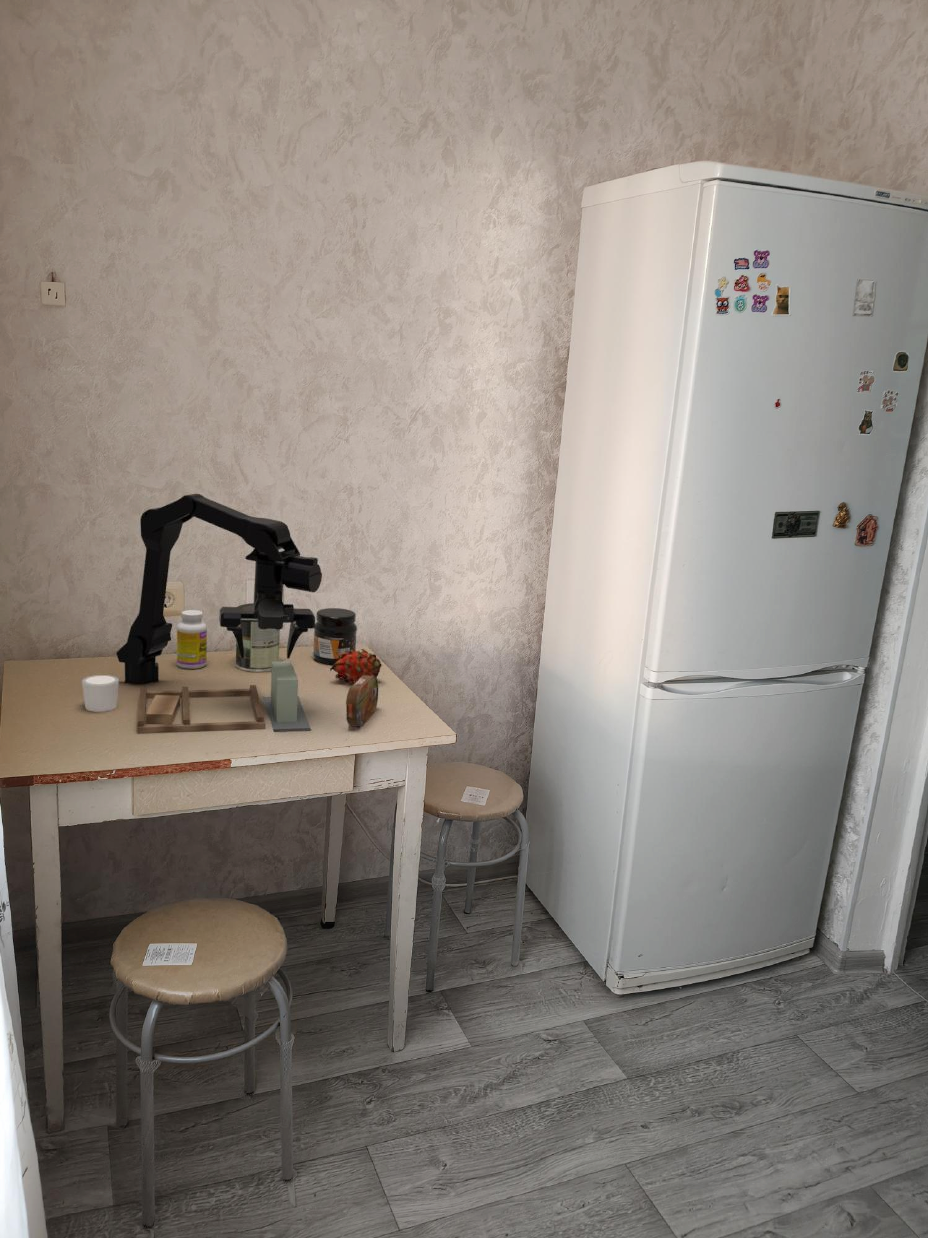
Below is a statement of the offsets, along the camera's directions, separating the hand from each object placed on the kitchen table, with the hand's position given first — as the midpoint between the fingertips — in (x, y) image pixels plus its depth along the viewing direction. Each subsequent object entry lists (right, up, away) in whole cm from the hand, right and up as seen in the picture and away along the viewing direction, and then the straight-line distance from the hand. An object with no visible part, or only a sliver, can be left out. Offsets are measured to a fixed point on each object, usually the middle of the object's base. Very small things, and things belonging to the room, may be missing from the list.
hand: (265, 657), depth 194 cm
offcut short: (-19, -11, -7) cm, 23 cm away
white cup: (-31, -11, -6) cm, 34 cm away
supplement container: (+9, -2, +40) cm, 41 cm away
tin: (+20, -13, +2) cm, 23 cm away
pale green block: (+4, -11, +1) cm, 12 cm away
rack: (-12, -12, -5) cm, 17 cm away
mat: (+4, -12, +1) cm, 12 cm away
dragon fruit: (+16, -7, +24) cm, 30 cm away
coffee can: (-8, -3, +31) cm, 32 cm away
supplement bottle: (-23, -3, +27) cm, 36 cm away
